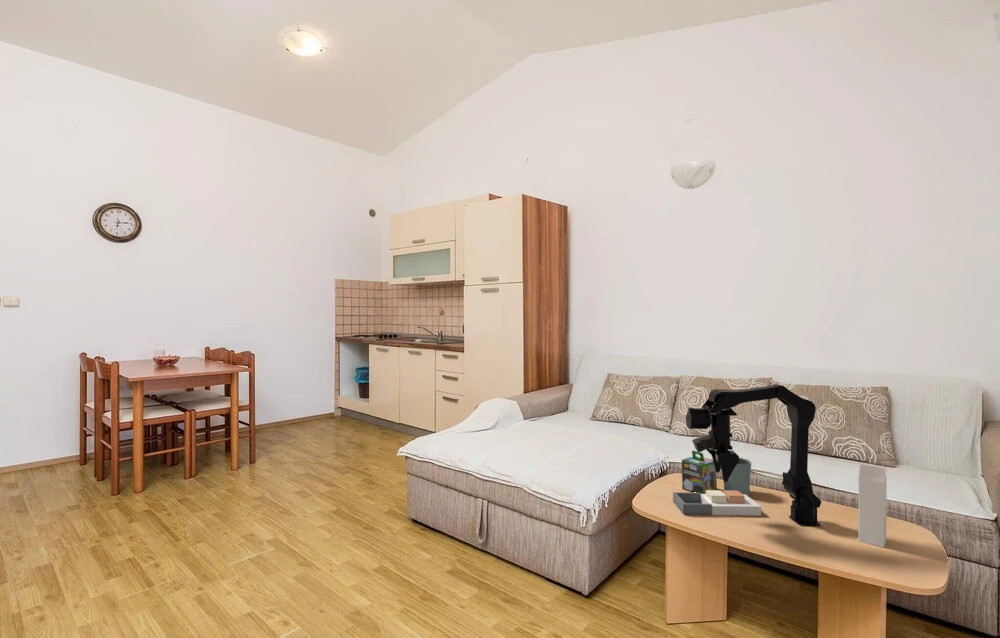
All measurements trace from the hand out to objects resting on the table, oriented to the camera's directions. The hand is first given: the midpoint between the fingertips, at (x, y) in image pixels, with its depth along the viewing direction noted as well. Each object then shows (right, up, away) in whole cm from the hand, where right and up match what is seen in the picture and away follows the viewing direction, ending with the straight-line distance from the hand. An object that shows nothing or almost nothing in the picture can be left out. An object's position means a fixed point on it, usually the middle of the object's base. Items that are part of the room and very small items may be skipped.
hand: (721, 476), depth 158 cm
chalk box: (+4, -14, +27) cm, 31 cm away
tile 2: (+8, -11, +9) cm, 16 cm away
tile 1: (+2, -11, +9) cm, 14 cm away
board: (+7, -14, +9) cm, 18 cm away
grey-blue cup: (+17, -14, +24) cm, 33 cm away
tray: (-6, -14, +9) cm, 18 cm away
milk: (+37, -14, -15) cm, 43 cm away
